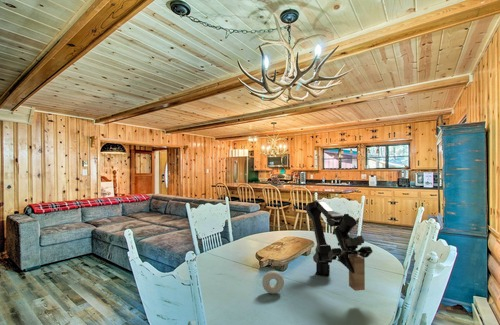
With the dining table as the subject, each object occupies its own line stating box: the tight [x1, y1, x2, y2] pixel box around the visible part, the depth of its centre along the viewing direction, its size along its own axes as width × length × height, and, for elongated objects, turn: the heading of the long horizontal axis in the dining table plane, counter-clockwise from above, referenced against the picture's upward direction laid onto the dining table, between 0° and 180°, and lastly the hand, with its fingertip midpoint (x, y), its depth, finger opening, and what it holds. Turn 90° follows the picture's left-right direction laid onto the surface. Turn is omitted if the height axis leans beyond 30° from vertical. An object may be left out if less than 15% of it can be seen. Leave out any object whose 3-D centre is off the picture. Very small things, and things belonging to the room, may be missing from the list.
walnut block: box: [348, 255, 366, 292], centre depth 103 cm, size 4×4×13 cm
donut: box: [261, 270, 285, 295], centre depth 112 cm, size 10×4×10 cm, turn 92°
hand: (358, 272), depth 102 cm, fingers closed on walnut block, 4 cm apart
